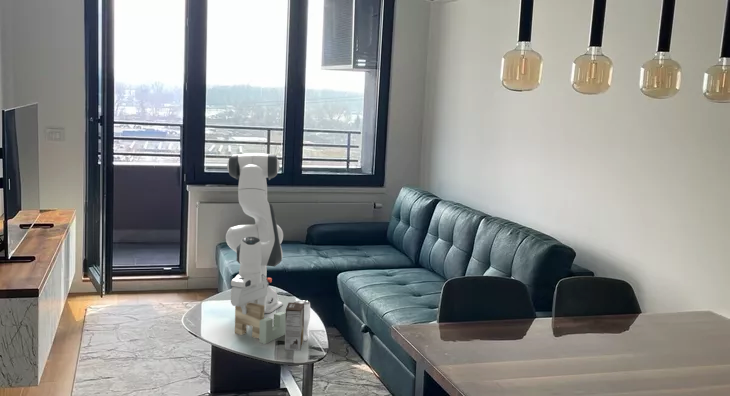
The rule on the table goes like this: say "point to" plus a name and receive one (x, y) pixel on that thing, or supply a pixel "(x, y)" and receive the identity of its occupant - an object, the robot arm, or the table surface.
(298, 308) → the coffee box
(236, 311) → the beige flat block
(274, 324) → the sage stand plate
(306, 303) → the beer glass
